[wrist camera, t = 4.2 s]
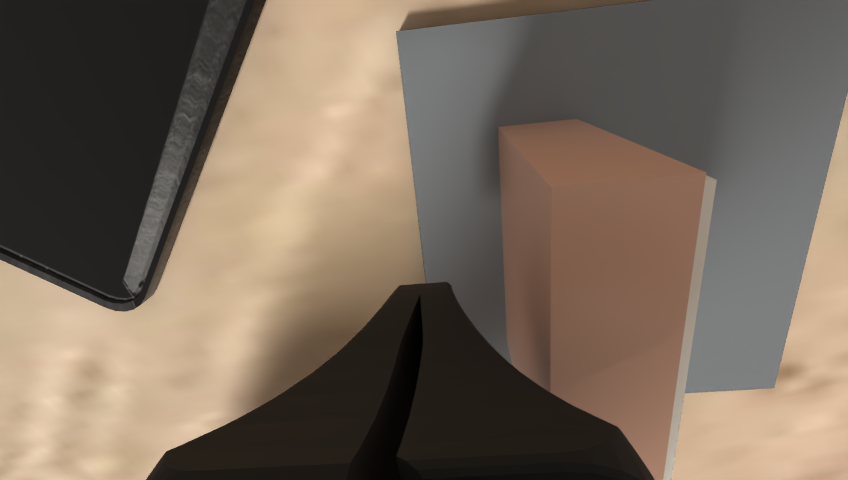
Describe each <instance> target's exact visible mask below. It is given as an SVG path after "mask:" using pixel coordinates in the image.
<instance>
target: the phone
mask: <svg viewBox="0 0 848 480" xmlns="http://www.w3.org/2000/svg"><path fill="white" fill-rule="evenodd" d="M265 1H266V0H0V260H2V261H5V262H7V263H9V264H11V265H13V266H16V267H18V268H20V269H22V270H24V271H27V272H29V273H31V274H33V275H35V276H38V277H40V278H42V279H44V280H46V281H49V282H51V283H53V284H55V285H57V286H59V287H62V288H64V289H66V290H68V291H70V292H73V293H75V294H77V295H79V296H81V297H84V298H86V299H88V300H90V301H92V302H95V303H97V304H99V305H101V306H103V307H106V308H109V309H112V310H115V311H129V310H133V309H135V308H136V307H138V306H139V305H141V304H142V303H143V302H145V301H146V300H147V299H148V298H150V297H151V296H152V295H153V294H154V292H155V291H156V289H157V287H158V284H159V282H160V279H161V276H162V274H163V271H164V268H165V266H166V263H167V260H168V258H169V255H170V252H171V250H172V247H173V245H174V242H175V239H176V237H177V234H178V231H179V229H180V226H181V223H182V221H183V218H184V215H185V213H186V210H187V207H188V205H189V202H190V200H191V197H192V194H193V192H194V189H195V186H196V184H197V181H198V178H199V176H200V173H201V170H202V168H203V165H204V162H205V160H206V157H207V155H208V152H209V149H210V147H211V144H212V141H213V139H214V136H215V133H216V131H217V128H218V125H219V123H220V120H221V117H222V115H223V112H224V110H225V107H226V104H227V102H228V99H229V96H230V94H231V91H232V88H233V86H234V83H235V80H236V78H237V75H238V72H239V70H240V67H241V64H242V62H243V59H244V57H245V54H246V51H247V49H248V46H249V43H250V41H251V38H252V35H253V33H254V30H255V27H256V25H257V22H258V19H259V17H260V14H261V12H262V9H263V6H264V4H265Z"/></svg>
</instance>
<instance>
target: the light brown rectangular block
mask: <svg viewBox="0 0 848 480" xmlns="http://www.w3.org/2000/svg"><path fill="white" fill-rule="evenodd" d="M498 142H499V166H500V190H501V214H502V238H503V262H504V286H505V310H506V334H507V345H508V349H509V353H510V357H511V361H512V365H513V366H514V367H515V368H516V369H517V370H519V371H520V372H521V373H523V374H524V375H525V376H527V377H528V378H530V379H531V380H532V381H534V382H535V383H537V384H538V385H539V386H541V387H542V388H544V389H545V390H547V391H549V392H550V393H552V394H554V395H556V396H557V397H559V398H561V399H562V400H564V401H566V402H568V403H569V404H571V405H573V406H575V407H577V408H579V409H581V410H583V411H586V412H588V413H590V414H592V415H594V416H596V417H598V418H600V419H602V420H604V421H607V422H609V423H611V424H613V425H615V426H617V427H618V428H620V430H621V431H622V432H623V434H624V435H625V436H626V438H627V439H628V441H629V442H630V443H631V445H632V446H633V448H634V449H635V450H636V452H637V453H638V455H639V456H640V458H641V459H642V461H643V462H644V464H645V465H646V467H647V468H648V470H649V471H650V473H651V474H652V476H653V478H654V479H655V480H672V474H673V467H674V461H675V454H676V447H677V441H678V434H679V427H680V421H681V414H682V408H683V401H684V394H685V388H686V381H687V374H688V368H689V361H690V355H691V348H692V341H693V335H694V328H695V321H696V315H697V308H698V302H699V295H700V288H701V282H702V275H703V268H704V262H705V255H706V249H707V242H708V235H709V229H710V222H711V215H712V209H713V202H714V195H715V189H716V182H717V180H716V179H714V178H711V177H709V176H707V175H706V172H704V171H702V170H699V169H697V168H694V167H692V166H689V165H687V164H685V163H682V162H680V161H677V160H675V159H673V158H670V157H668V156H665V155H663V154H660V153H658V152H656V151H653V150H651V149H648V148H646V147H644V146H641V145H639V144H636V143H634V142H632V141H629V140H627V139H624V138H622V137H619V136H617V135H615V134H612V133H610V132H607V131H605V130H603V129H600V128H598V127H595V126H593V125H591V124H588V123H586V122H583V121H581V120H578V119H570V120H560V121H550V122H541V123H531V124H521V125H512V126H502V127H498Z"/></svg>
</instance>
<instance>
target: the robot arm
mask: <svg viewBox="0 0 848 480" xmlns="http://www.w3.org/2000/svg"><path fill="white" fill-rule="evenodd" d="M146 480H655V479H654V478H653V476H652V474H651V473H650V471H649V470H648V468H647V467H646V465H645V464H644V462H643V461H642V459H641V458H640V456H639V455H638V453H637V452H636V450H635V449H634V448H633V446H632V445H631V443H630V442H629V441H628V439H627V438H626V436H625V435H624V434H623V432H622V431H621V430H620V428H618V427H617V426H615V425H613V424H611V423H609V422H607V421H604V420H602V419H600V418H598V417H596V416H594V415H592V414H590V413H588V412H586V411H583V410H581V409H579V408H577V407H575V406H573V405H571V404H569V403H568V402H566V401H564V400H562V399H561V398H559V397H557V396H556V395H554V394H552V393H550V392H549V391H547V390H545V389H544V388H542V387H541V386H539V385H538V384H537V383H535V382H534V381H532V380H531V379H530V378H528V377H527V376H525V375H524V374H523V373H521V372H520V371H519V370H517V369H516V368H515V367H514V366H513V365H511V364H510V363H509V362H508V361H507V360H506V359H505V358H504V357H502V356H501V355H500V354H499V353H498V352H497V351H496V350H495V349H494V348H493V347H492V346H491V345H490V344H489V343H488V341H487V340H486V339H485V338H484V337H483V336H482V335H481V333H480V332H479V331H478V330H477V329H476V327H475V326H474V325H473V323H472V322H471V321H470V319H469V318H468V316H467V315H466V314H465V312H464V311H463V309H462V308H461V306H460V304H459V302H458V301H457V299H456V297H455V295H454V293H453V290H452V286H451V285H450V284H449V283H448V282H438V283H426V284H413V285H401V286H399V287H398V288H397V289H396V290H395V291H394V293H393V294H392V295H391V296H390V297H389V299H388V300H387V301H386V302H385V304H384V305H383V306H382V307H381V308H380V310H379V311H378V312H377V313H376V314H375V315H374V317H373V318H372V319H371V320H370V321H369V322H368V323H367V324H366V326H365V327H364V328H363V329H362V330H361V331H360V332H359V333H358V334H357V335H356V336H355V337H354V338H353V339H352V340H351V341H350V342H349V343H348V344H347V345H346V346H345V347H344V348H342V349H341V350H340V351H339V352H338V353H337V354H336V355H334V356H333V357H332V358H331V359H330V360H328V361H327V362H326V363H325V364H323V365H322V366H321V367H320V368H318V369H317V370H316V371H314V372H313V373H312V374H310V375H309V376H307V377H306V378H304V379H303V380H301V381H300V382H298V383H297V384H295V385H294V386H292V387H291V388H289V389H288V390H286V391H285V392H283V393H282V394H280V395H279V396H277V397H276V398H274V399H272V400H270V401H269V402H267V403H265V404H264V405H262V406H260V407H258V408H257V409H255V410H253V411H251V412H249V413H247V414H246V415H244V416H242V417H240V418H238V419H236V420H234V421H232V422H230V423H228V424H226V425H224V426H222V427H220V428H218V429H216V430H213V431H211V432H209V433H207V434H205V435H203V436H200V437H198V438H196V439H194V440H192V441H189V442H187V443H185V444H183V445H181V446H178V447H176V448H174V449H171V450H169V451H166V453H165V454H164V455H163V457H162V458H161V459H160V461H159V462H158V463H157V465H156V466H155V468H154V469H153V471H152V472H151V473H150V475H149V476H148V478H147V479H146Z"/></svg>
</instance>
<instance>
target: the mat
mask: <svg viewBox="0 0 848 480" xmlns="http://www.w3.org/2000/svg"><path fill="white" fill-rule="evenodd" d="M396 35H397V43H398V52H399V60H400V69H401V77H402V85H403V94H404V102H405V111H406V119H407V128H408V136H409V145H410V153H411V161H412V170H413V178H414V187H415V195H416V204H417V212H418V221H419V229H420V238H421V246H422V254H423V263H424V271H425V280H426V283H438V282H448V283H449V284H450V285H451V286H452V290H453V293H454V295H455V297H456V299H457V301H458V302H459V304H460V306H461V308H462V309H463V311H464V312H465V314H466V315H467V316H468V318H469V319H470V321H471V322H472V323H473V325H474V326H475V327H476V329H477V330H478V331H479V332H480V333H481V335H482V336H483V337H484V338H485V339H486V340H487V341H488V343H489V344H490V345H491V346H492V347H493V348H494V349H495V350H496V351H497V352H498V353H499V354H500V355H501V356H502V357H504V358H505V359H506V360H507V361H508V362H509V363H510V364H511V365H512V361H511V357H510V353H509V349H508V345H507V334H506V310H505V286H504V262H503V238H502V214H501V190H500V166H499V142H498V127H502V126H512V125H521V124H531V123H541V122H550V121H560V120H570V119H578V120H581V121H583V122H586V123H588V124H591V125H593V126H595V127H598V128H600V129H603V130H605V131H607V132H610V133H612V134H615V135H617V136H619V137H622V138H624V139H627V140H629V141H632V142H634V143H636V144H639V145H641V146H644V147H646V148H648V149H651V150H653V151H656V152H658V153H660V154H663V155H665V156H668V157H670V158H673V159H675V160H677V161H680V162H682V163H685V164H687V165H689V166H692V167H694V168H697V169H699V170H702V171H704V172H706V175H707V176H709V177H711V178H714V179H716V180H717V182H716V189H715V195H714V202H713V209H712V215H711V222H710V229H709V235H708V242H707V249H706V255H705V262H704V268H703V275H702V282H701V288H700V295H699V302H698V308H697V315H696V321H695V328H694V335H693V341H692V348H691V355H690V361H689V368H688V374H687V381H686V388H685V393H698V392H716V391H733V390H751V389H768V388H774V387H775V383H776V378H777V374H778V370H779V366H780V362H781V358H782V354H783V350H784V346H785V342H786V338H787V334H788V330H789V326H790V322H791V318H792V314H793V310H794V306H795V302H796V298H797V294H798V290H799V286H800V282H801V278H802V273H803V269H804V265H805V261H806V257H807V253H808V249H809V245H810V241H811V237H812V233H813V229H814V225H815V221H816V217H817V213H818V209H819V205H820V201H821V197H822V193H823V189H824V185H825V181H826V177H827V172H828V168H829V164H830V160H831V156H832V152H833V148H834V144H835V140H836V136H837V132H838V128H839V124H840V120H841V116H842V112H843V108H844V104H845V100H846V96H847V92H848V0H650V1H641V2H633V3H625V4H617V5H609V6H600V7H592V8H584V9H576V10H567V11H559V12H551V13H543V14H534V15H526V16H518V17H510V18H502V19H493V20H485V21H477V22H469V23H460V24H452V25H444V26H436V27H428V28H419V29H411V30H403V31H396Z"/></svg>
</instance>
